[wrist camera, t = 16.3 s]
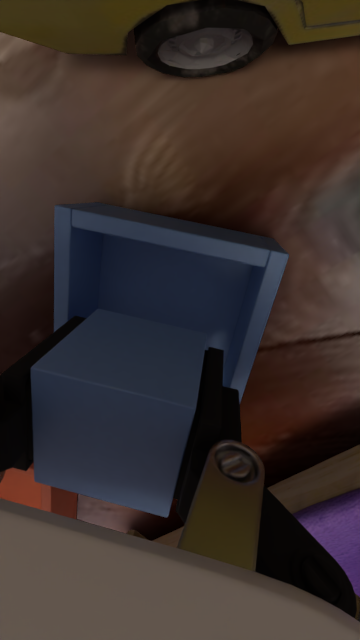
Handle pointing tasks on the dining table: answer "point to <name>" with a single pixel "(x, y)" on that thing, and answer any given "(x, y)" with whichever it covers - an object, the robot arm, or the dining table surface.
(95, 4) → the toy car
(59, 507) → the red bin
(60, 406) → the blue block
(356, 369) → the dining table surface
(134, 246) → the blue bin
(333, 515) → the toy sofa
